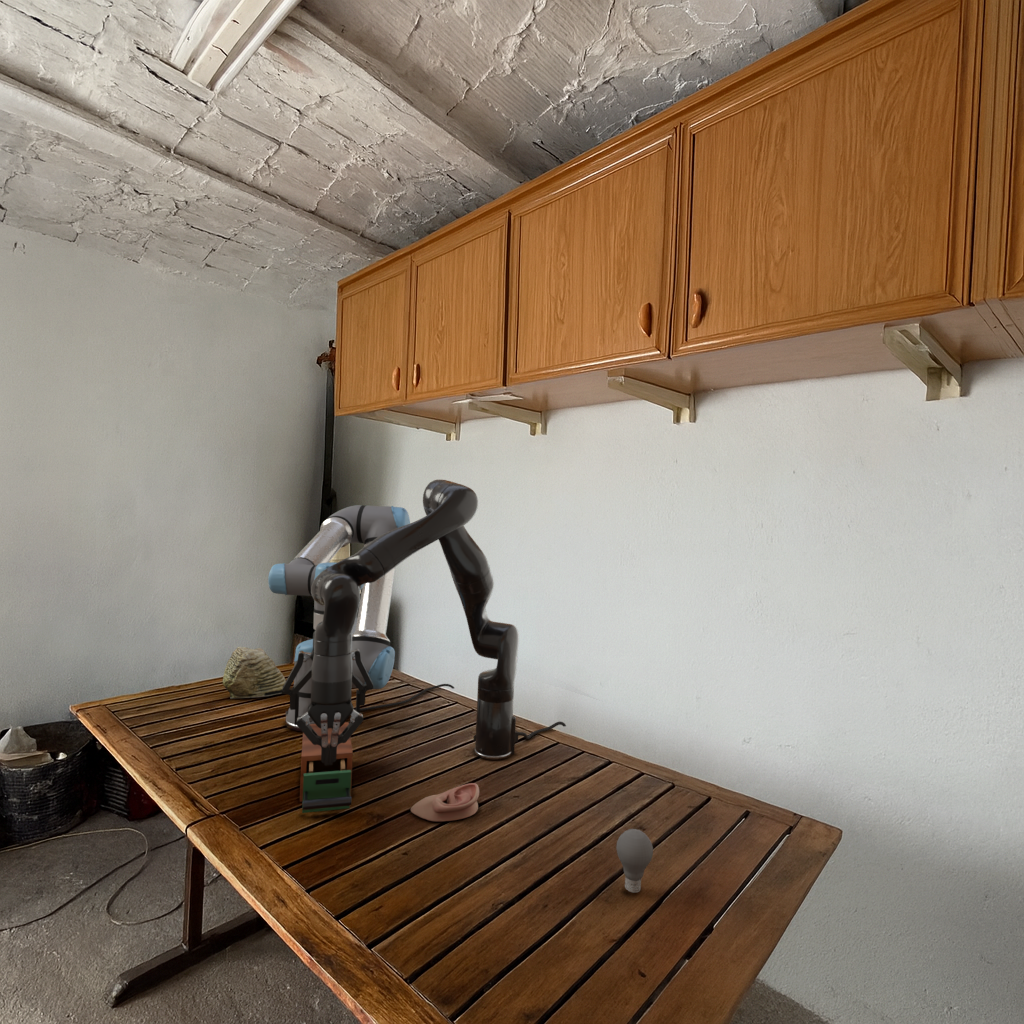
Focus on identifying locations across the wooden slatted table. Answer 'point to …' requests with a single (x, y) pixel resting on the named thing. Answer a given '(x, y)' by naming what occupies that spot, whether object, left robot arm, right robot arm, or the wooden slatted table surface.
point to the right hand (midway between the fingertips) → (328, 764)
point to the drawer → (326, 787)
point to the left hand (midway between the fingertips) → (327, 721)
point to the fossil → (252, 674)
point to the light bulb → (634, 857)
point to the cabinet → (314, 753)
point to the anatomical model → (449, 804)
